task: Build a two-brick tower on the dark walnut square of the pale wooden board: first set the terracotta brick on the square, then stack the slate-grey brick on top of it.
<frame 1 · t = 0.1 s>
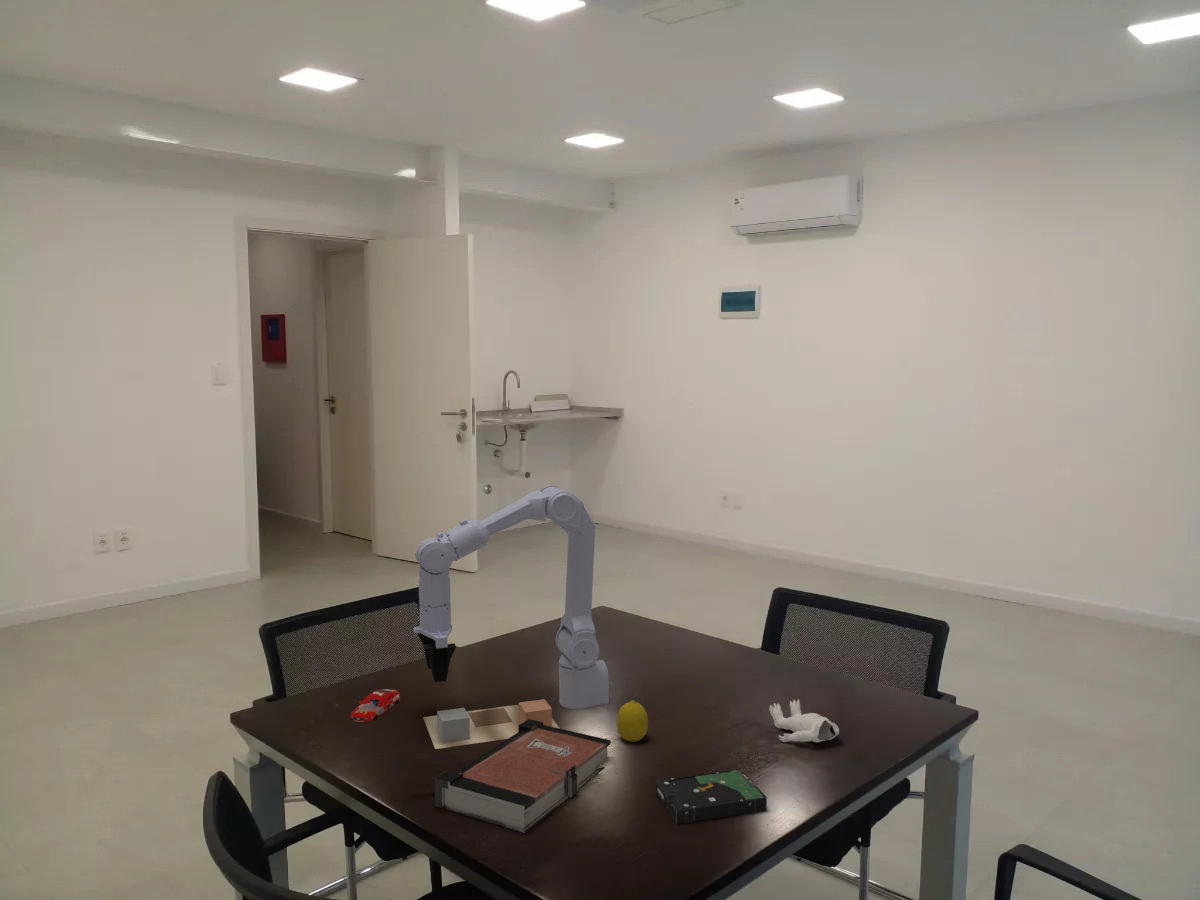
hand: (436, 674, 171), 10 cm above the table, tool pointing down, fingers open, 7 cm apart
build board: (491, 729, 171), on the table
toy creature: (804, 737, 167), on the table
race car: (376, 716, 179), on the table
book: (529, 787, 149), on the table
terracotta brick: (535, 726, 169), point 1 cm above the table, touching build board
disk drive: (709, 805, 143), on the table
lemon: (632, 745, 164), on the table
grey brick: (453, 735, 165), point 1 cm above the table, touching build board
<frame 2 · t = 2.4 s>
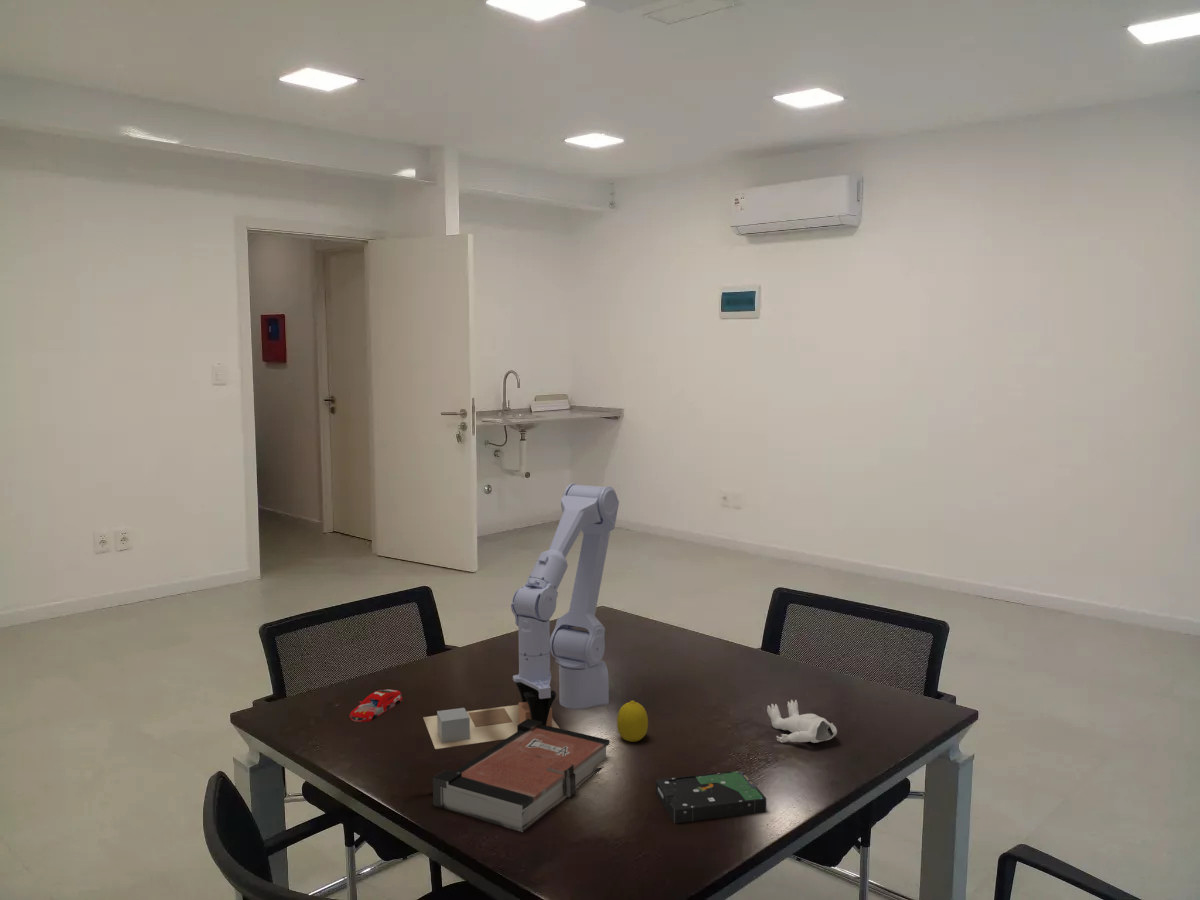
hand: (535, 722, 169), 2 cm above the table, tool pointing down, fingers closed on terracotta brick, 5 cm apart
terracotta brick: (535, 726, 169), point 1 cm above the table, touching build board, gripper
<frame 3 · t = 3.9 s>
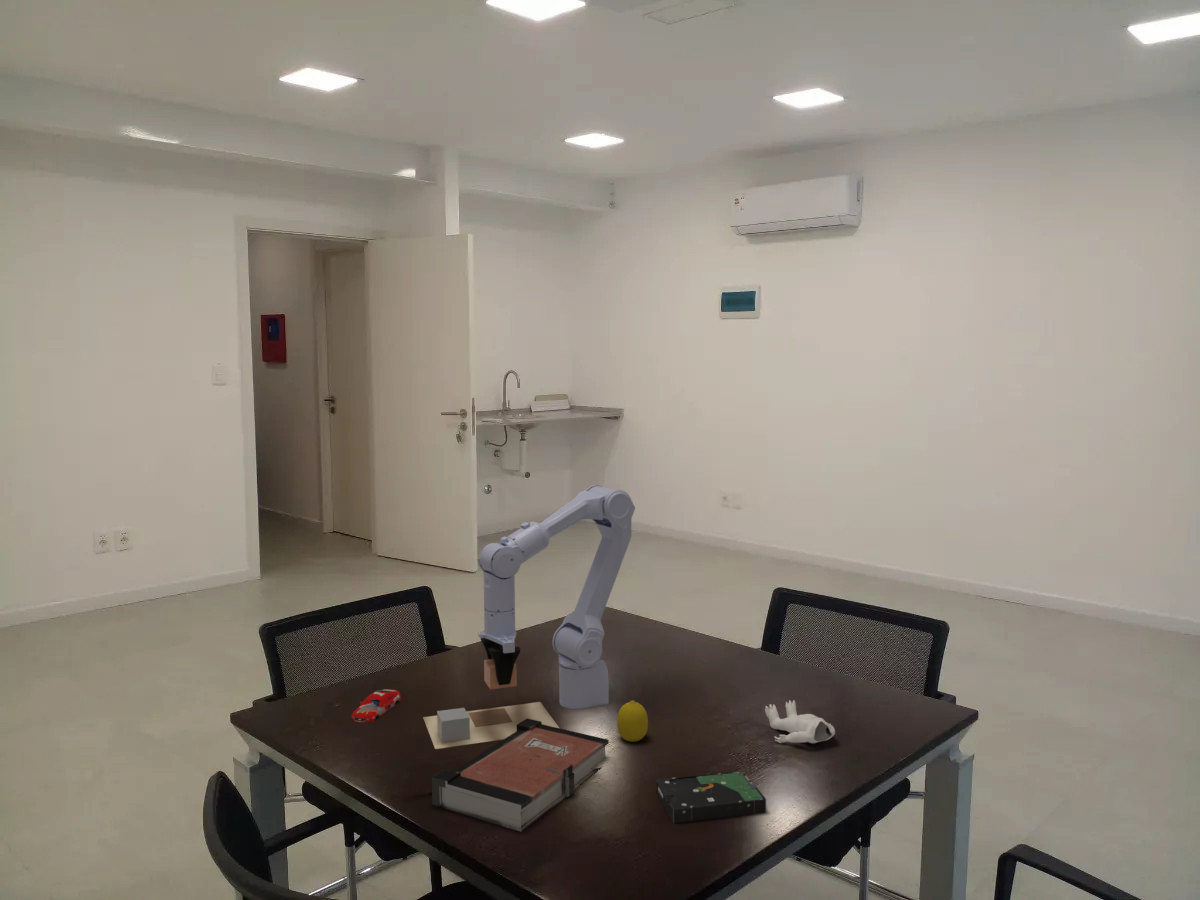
hand: (500, 679, 172), 9 cm above the table, tool pointing down, fingers closed on terracotta brick, 5 cm apart
terracotta brick: (500, 683, 172), point 8 cm above the table, touching gripper
when the fingers open (3 cm above the table, at t = 5.7 s): terracotta brick drops 1 cm, resting on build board.
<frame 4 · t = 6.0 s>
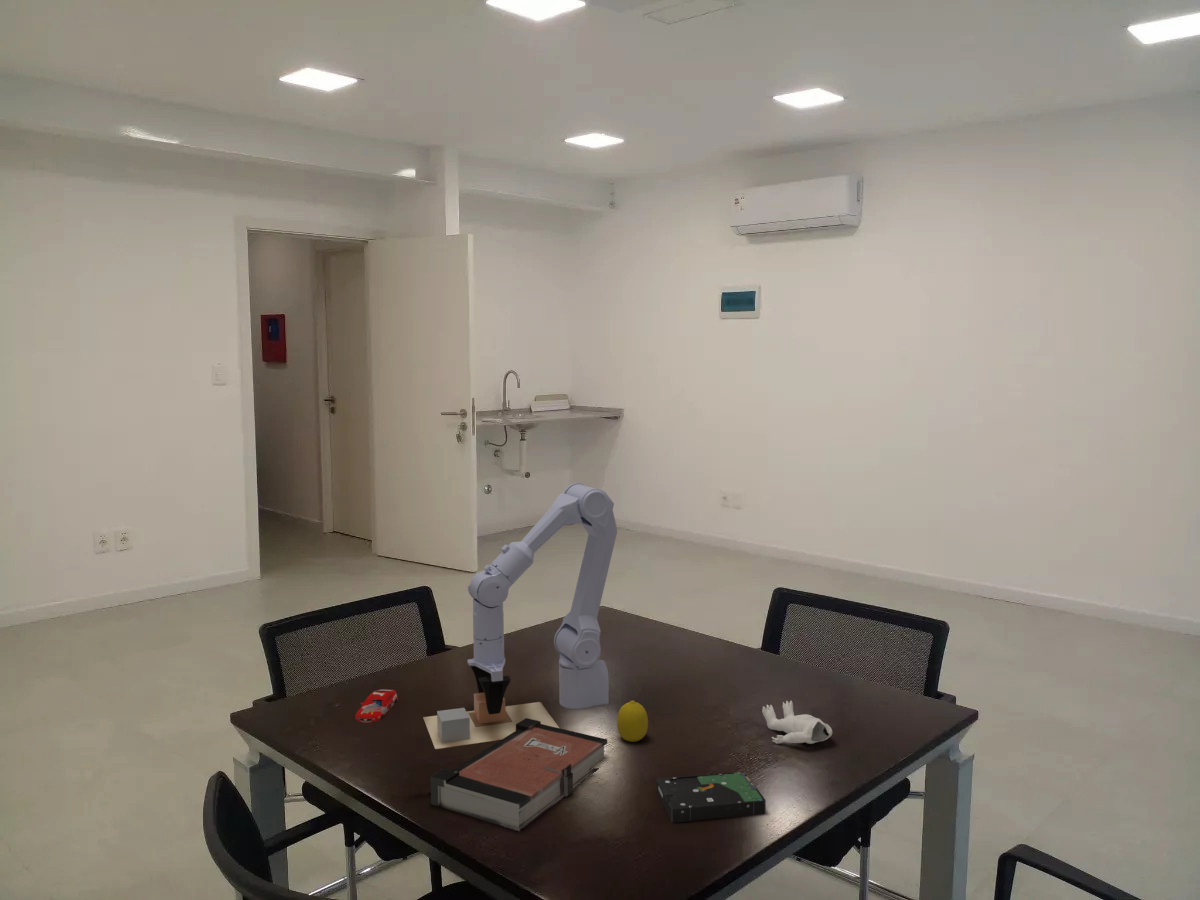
hand: (490, 705, 173), 3 cm above the table, tool pointing down, fingers open, 7 cm apart
terracotta brick: (489, 717, 174), point 1 cm above the table, touching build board
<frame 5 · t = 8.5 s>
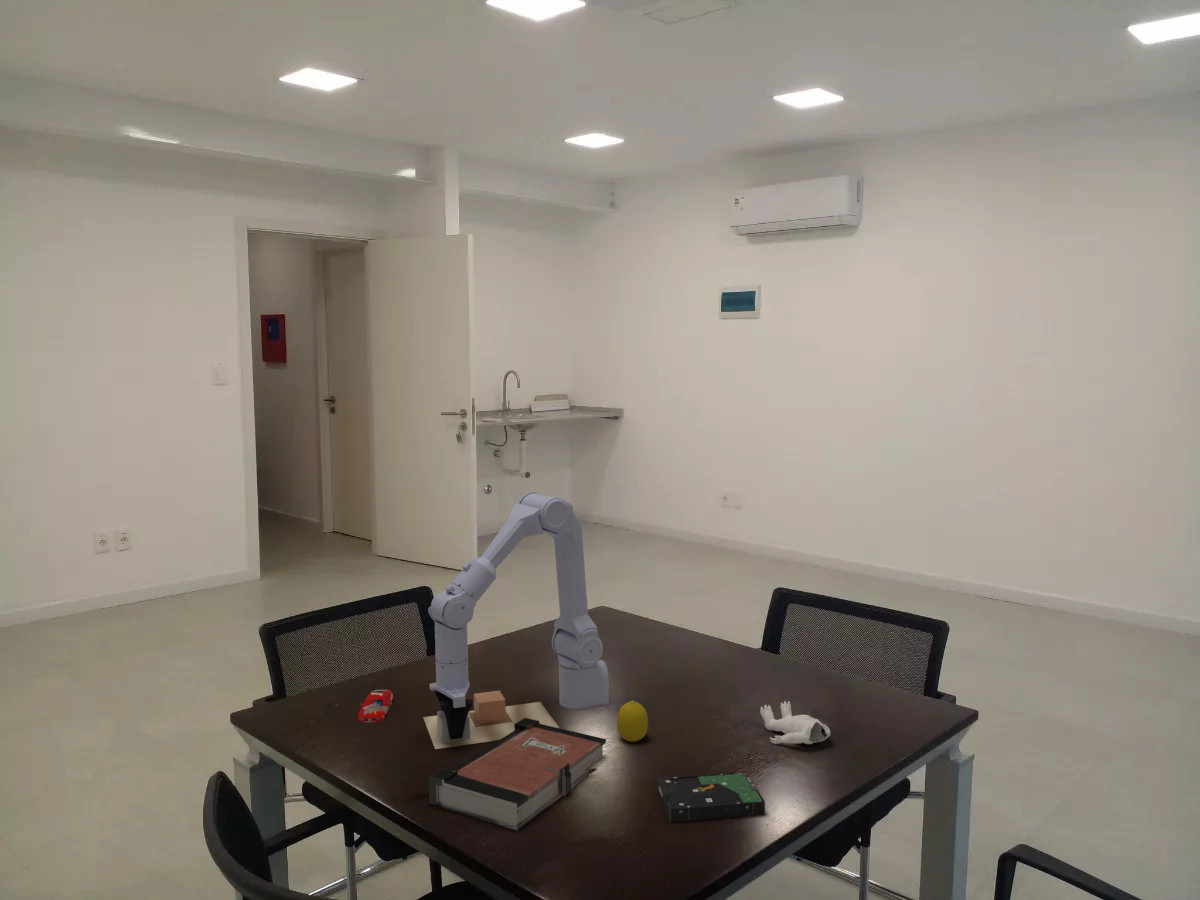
hand: (453, 732, 165), 2 cm above the table, tool pointing down, fingers closed on grey brick, 5 cm apart
grey brick: (453, 735, 165), point 1 cm above the table, touching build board, gripper
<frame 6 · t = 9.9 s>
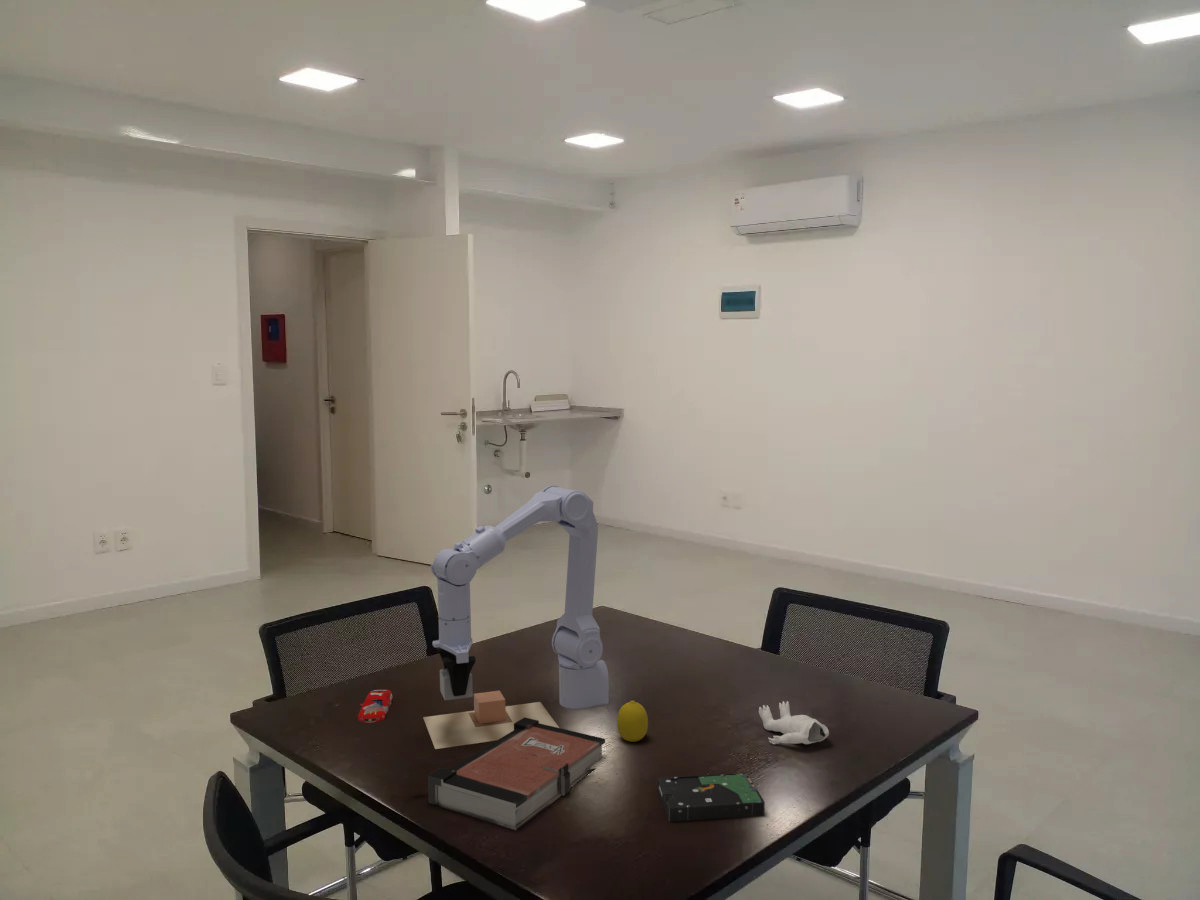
hand: (456, 689, 165), 9 cm above the table, tool pointing down, fingers closed on grey brick, 5 cm apart
grey brick: (456, 693, 165), point 9 cm above the table, touching gripper
when the fingers open (7 cm above the table, at t = 11.3 s): grey brick drops 1 cm, resting on terracotta brick.
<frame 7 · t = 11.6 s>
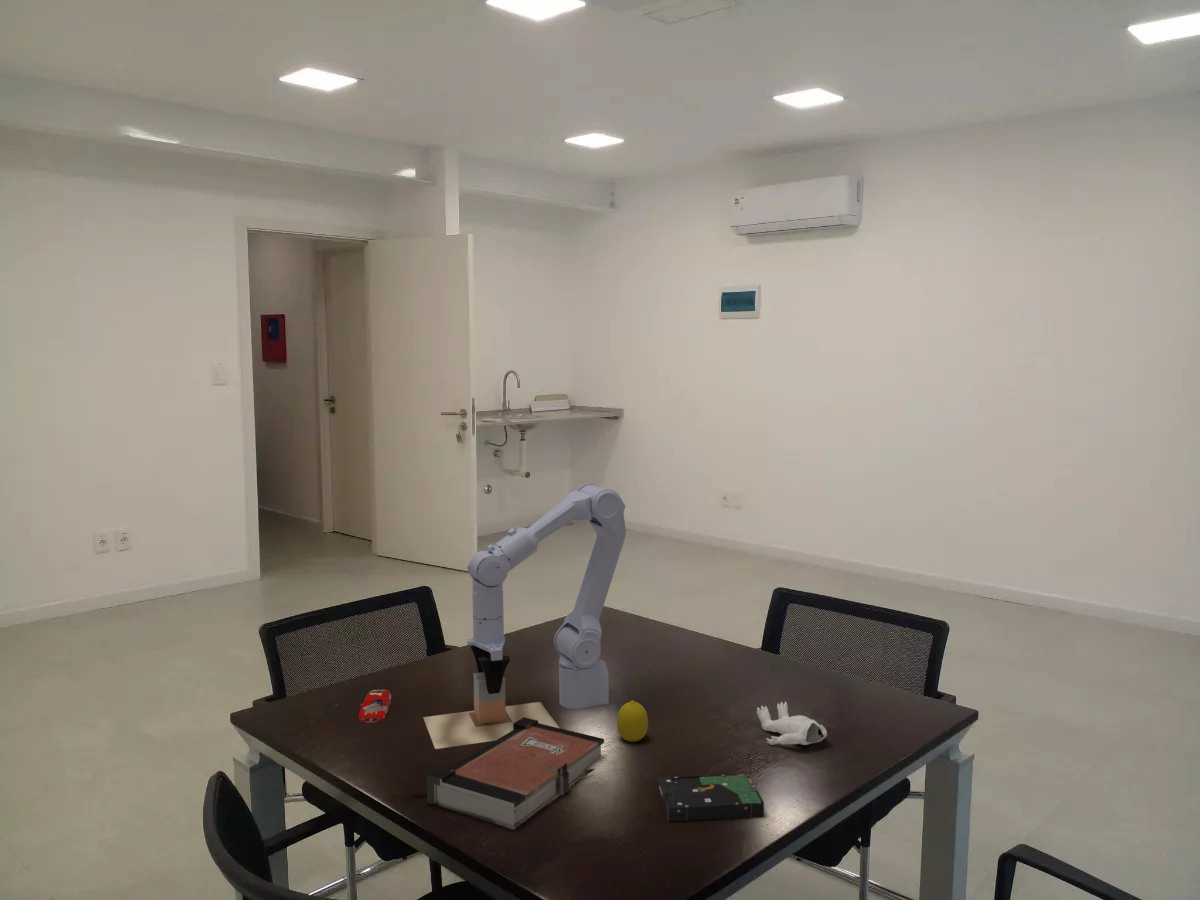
hand: (489, 685, 173), 7 cm above the table, tool pointing down, fingers open, 7 cm apart
terracotta brick: (489, 717, 174), point 1 cm above the table, touching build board, grey brick
grey brick: (489, 696, 173), point 5 cm above the table, touching terracotta brick
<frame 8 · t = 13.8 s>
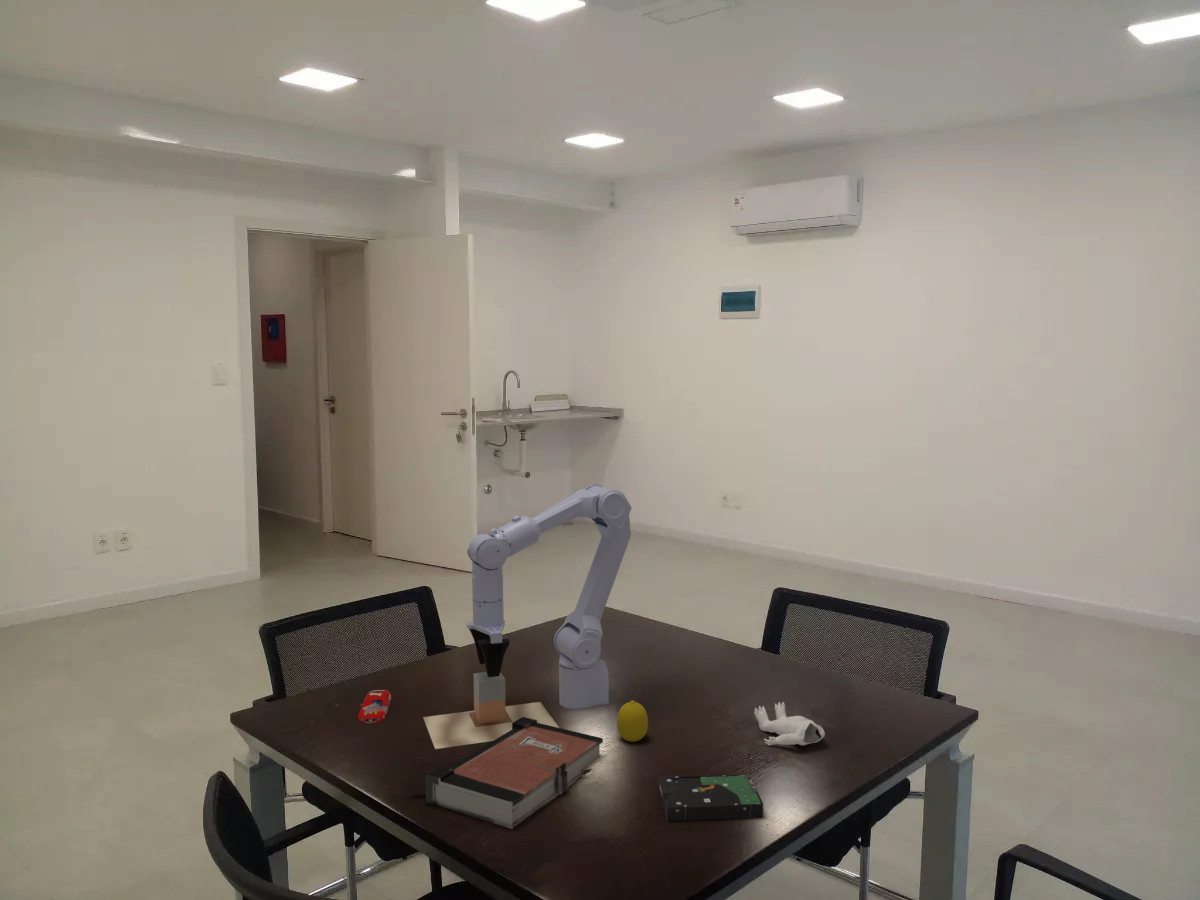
hand: (489, 669, 173), 10 cm above the table, tool pointing down, fingers open, 7 cm apart
at the end: terracotta brick 0.1 cm from the target spot, point 1.1 cm above the table; grey brick 0.0 cm from the target spot, point 5.1 cm above the table; grey brick tilted 0° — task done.
